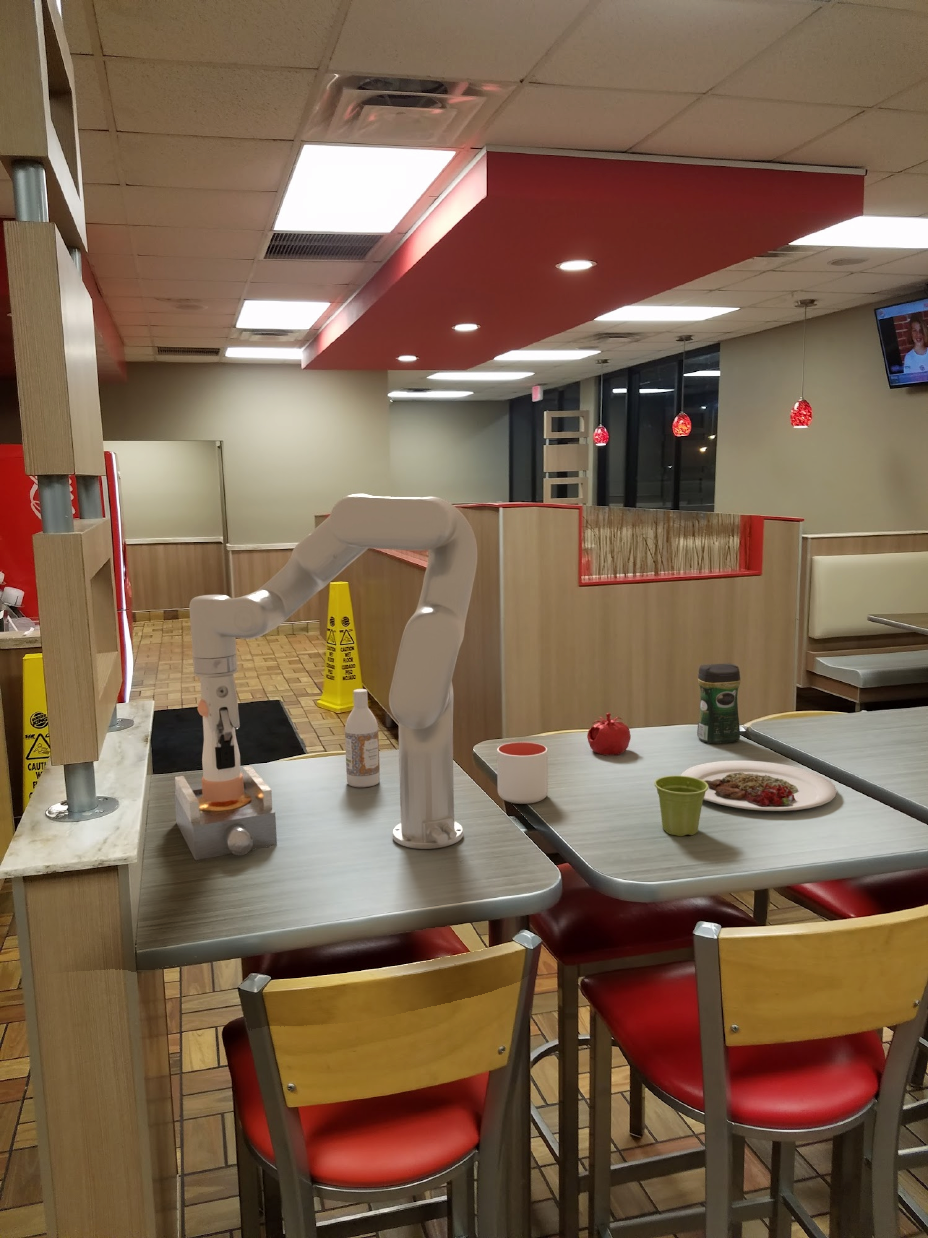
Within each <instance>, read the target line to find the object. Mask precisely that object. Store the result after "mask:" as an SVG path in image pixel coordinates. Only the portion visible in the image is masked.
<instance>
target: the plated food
mask: <svg viewBox="0 0 928 1238" xmlns="http://www.w3.org/2000/svg"><path fill="white" fill-rule="evenodd" d="M679 776H688V777H694V778H697V779H700V780H703V781H705V782H706V783H707V784H708V790H707V791H706V792H705V796H704V798H703V801H706V802H707V801H708V802H711V803H714V804H717V805H723V806H727V807H731V808H736V809H742V810H743V809H745V810H751V811H752V810H753V811H754V810H755V811H762V812H763V811H766V812H770V811H771V812H777V811H779V812H782V811H783V812H784V811H797V810H798V811H799V810H806V809H811V808H815V807H820V806H823V805H825V804H827V803H829V802H831V801H832V800H833V799H835V798H836V794H837V788H836V787H837V786H836V785H835V784H834V783H833V782H832V781H831V780H829V779H828V778H826V777H825V776H823V775H820V774H818V773H815V772H813V771H811V770H808V769H805V768H800V767H797V766H793V765H789V764H784V763H783V764H782V763H778V762H768V761H759V760H757V761H756V760H719V761H713V762H705V763H702V764H697V765H694V766H691V767H689V768H687V769H686V770H683V772H682V773H681V774H680V775H679Z"/></svg>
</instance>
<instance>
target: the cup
mask: <svg viewBox="0 0 928 1238" xmlns="http://www.w3.org/2000/svg"><path fill="white" fill-rule="evenodd" d="M548 750H549V749H548V747H546V746H545V745H543V744H541V743H536V742H531V741H530V742H529V741H528V742H527V741H526V742H525V741H520V742H519V741H517V742H515V741H514V742H508V743H504V744H501V745H500V746H498V747H497V749H496V760H497V761H496V763H497V766H496V767H497V768H496V770H497V776H496V777H497V794H498V796H499V797H500V798H501V799H502V800H504V801H505V802H508V803H512V804H519V805H523V804H524V805H527V804H528V805H530V804H534V803H539V802H540V801H543V800H544V799H545V798H546V797H547V796H548V793H549V776H548V774H549V770H548V769H549V762H548V761H549V757H548V756H549V755H548V754H549V753H548V752H549V751H548Z"/></svg>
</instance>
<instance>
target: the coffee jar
mask: <svg viewBox="0 0 928 1238" xmlns="http://www.w3.org/2000/svg"><path fill="white" fill-rule="evenodd" d="M697 677H698V678H697V683H698V685H699V689H700V701H699V702H700V704H699V712H698V713H699V714H698V720H697V732H696V733H697V738H698V739H699V740H700V741H701V742H702V743H708V744H728V743H735V742H738V741H739V740H740V738H741V728H740V719H739V706H738V705H739V704H738V694H739V693H738V692H739V688H740V685H741V672H740V668H739V666H738V665H735V664H733V663H728V662H727V663H714V664H713V663H711V664H703V665H700V666H699V669H698V676H697Z"/></svg>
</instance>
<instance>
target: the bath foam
mask: <svg viewBox="0 0 928 1238" xmlns="http://www.w3.org/2000/svg"><path fill="white" fill-rule="evenodd" d="M352 693H353V694H352V695H353V696H352V697H353V707H352V709H351V712H350V713H349V715H348V717H347V718H346V722H345V726H344V727H345V728H344V742H345V743H344V744H345V745H344V746H345V747H344V748H345V763H346V764H345V765H346V766H345V767H346V771H345V772H346V782H347V784H348V786H350V787H353V788H370V787H374V786H375V785H379V783H380V781H381V773H380V771H381V770H380V765H381V764H380V739H379V726H378V725H379V724H378V721H377V719H376V716H375V715H374V714H373V712H372V711H371V709H370V708H369V703H368V701H369V700H368V699H369V697H368V690H367V689H365V688H357V689H354V690H353V691H352Z"/></svg>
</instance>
